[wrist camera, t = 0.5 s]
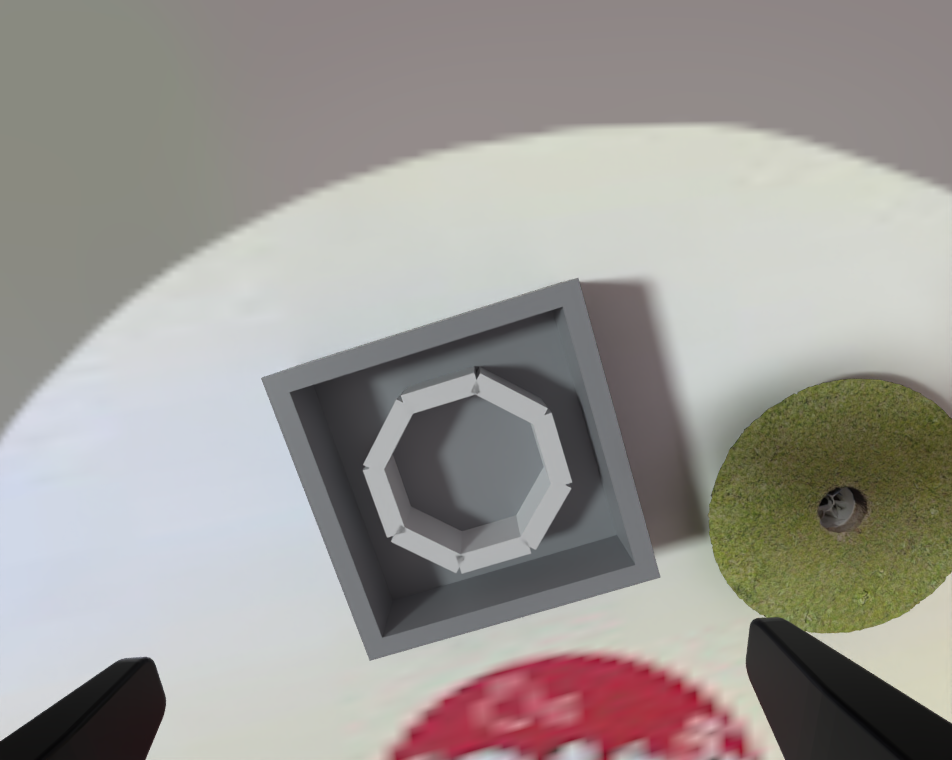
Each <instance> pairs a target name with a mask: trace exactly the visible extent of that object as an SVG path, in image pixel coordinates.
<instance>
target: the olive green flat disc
mask: <svg viewBox="0 0 952 760" xmlns="http://www.w3.org/2000/svg"><path fill="white" fill-rule="evenodd" d="M711 496H712V500H711V503H710V504H709V507H710V512H709V513H708V517H709V518H710V520H709V529H710V531H709V535H710V539H711V544H712V545H713V547H712V548H713V553H714V557H715V560H716V563H718V566H719V569H720V571H721V573H722V575H723V576H724V578H725V580H727V583H728V584H729V586H730V587H731V588H732V589H733V591H734V592H735V593H736V594H737V596H738V597H739V598H740V599H743V601H744V602H745V603H746V604H747V605H748V606H749V607H751V608H752V609H753V610H755V611H757V612H758V613H759V614H760V615H764V616H765V617H767V618H768V617H780V618H783V619H786V620H787V621H789V622H791V623H792V624H794V625H795V626H797V627H799V628H800V629H802V630H803V631H808V632H811V633H813V632H815V633H839V632H844V633H846V632H852V631H855V630H862V629H865V628H869V627H874V626H877V625H880V624H883V623H885V622H887V621H890V620H891V619H893V618H897V617H899V616H901V615H902V614H904V613H906V612H908V611H910V609H912V608H913V607H914V606H915V605H916V604H919V603H920V601H922V600H924V599H925V598H926V597H927V596H929V595H931V594H932V593H933V592H934V591H935V590H936V589H937V588H938V587H939V586H940V585H941V584H942V583H943V582H944V581H945V579H946V576H948V575H949V574H951V572H952V419H951V418H950V417H949V416H948V415H947V414H946V412H944V411H943V410H942V409H941V408H940V407H939V406H938V405H937V404H935V403H934V402H933V401H932V400H929V399H927V398H926V397H924V396H923V395H922V394H921V393H918V392H915V391H913V390H911V389H910V388H907V387H904V386H903V385H900V384H894V383H892V382H887V381H882V380H875V379H846V380H838V381H832V382H826V383H821V384H820V385H815V386H813V387H808V388H806V389H804V390H802V391H799V392H798V393H797V394H793V395H791V396H790V397H788V398H786V399H785V400H783V401H782V402H781V403H779V404H777V405H775V406H773V407H771V408H769V409H768V410H767V411H766V412H765V413H764V414H763V415H762V416H761V417H760V418H758V419H757V420H755V421H753V422H752V423H751V425H750V426H749V427H748V428H746V429H745V430H744V433H742V434H741V436H740V437H739V439H738V440H737V441H736V443H735V444H734V445H733V446H732V447H731V448H730V450H729V452H728V455H727V457H726V460H725V462H724V463H723V465H722V467H721V469H720V471H719V473H718V476H717V479H716V482H715V485H714V488H713V491H712V494H711Z"/></svg>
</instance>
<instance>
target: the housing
mask: <svg viewBox="0 0 952 760" xmlns="http://www.w3.org/2000/svg"><path fill="white" fill-rule="evenodd" d="M261 379H262V382H263V384H264V387H265V390H266V392H267V395H268V397H269V400H270V403H271V405H272V408H273V410H274V413H275V416H276V418H277V421H278V423H279V426H280V429H281V431H282V434H283V436H284V439H285V442H286V444H287V447H288V449H289V452H290V455H291V457H292V460H293V462H294V465H295V468H296V470H297V473H298V475H299V478H300V481H301V483H302V486H303V488H304V491H305V494H306V496H307V499H308V501H309V504H310V507H311V509H312V512H313V514H314V517H315V519H316V522H317V525H318V527H319V530H320V532H321V535H322V538H323V540H324V543H325V545H326V548H327V551H328V553H329V556H330V558H331V561H332V564H333V566H334V569H335V571H336V574H337V577H338V579H339V582H340V584H341V587H342V590H343V592H344V595H345V597H346V600H347V603H348V605H349V608H350V610H351V613H352V616H353V618H354V621H355V623H356V626H357V629H358V631H359V634H360V636H361V639H362V642H363V644H364V647H365V649H366V652H367V655H368V657H369V660H370V661H371V660H374V659H378V658H381V657H385V656H388V655H392V654H395V653H398V652H402V651H405V650H409V649H412V648H416V647H419V646H423V645H426V644H430V643H433V642H437V641H440V640H444V639H447V638H451V637H454V636H458V635H461V634H465V633H468V632H472V631H475V630H479V629H482V628H486V627H489V626H493V625H496V624H500V623H503V622H507V621H510V620H514V619H517V618H521V617H524V616H528V615H531V614H535V613H538V612H541V611H545V610H548V609H552V608H555V607H559V606H562V605H566V604H569V603H573V602H576V601H580V600H583V599H587V598H590V597H594V596H597V595H601V594H604V593H608V592H611V591H615V590H618V589H622V588H625V587H629V586H632V585H636V584H639V583H643V582H646V581H650V580H653V579H657V578H660V574H659V570H658V567H657V563H656V559H655V556H654V552H653V548H652V545H651V541H650V537H649V534H648V530H647V527H646V523H645V519H644V516H643V512H642V508H641V505H640V501H639V497H638V494H637V490H636V486H635V483H634V479H633V476H632V472H631V468H630V465H629V461H628V457H627V454H626V450H625V446H624V443H623V439H622V435H621V432H620V428H619V425H618V421H617V417H616V414H615V410H614V406H613V403H612V399H611V395H610V392H609V388H608V384H607V381H606V377H605V374H604V370H603V366H602V363H601V359H600V355H599V352H598V348H597V344H596V341H595V337H594V334H593V330H592V326H591V323H590V319H589V315H588V312H587V308H586V304H585V301H584V297H583V293H582V290H581V286H580V283H579V279H578V278H576V279H572V280H568V281H564V282H560V283H557V284H554V285H551V286H548V287H545V288H541V289H538V290H535V291H532V292H529V293H526V294H522V295H519V296H516V297H513V298H510V299H507V300H503V301H500V302H497V303H494V304H491V305H488V306H484V307H481V308H478V309H475V310H472V311H469V312H465V313H462V314H459V315H456V316H453V317H450V318H446V319H443V320H440V321H437V322H434V323H431V324H427V325H424V326H421V327H418V328H415V329H412V330H408V331H405V332H402V333H399V334H396V335H393V336H389V337H386V338H383V339H380V340H377V341H374V342H370V343H367V344H364V345H361V346H358V347H355V348H351V349H348V350H345V351H342V352H339V353H336V354H332V355H329V356H326V357H323V358H320V359H317V360H313V361H310V362H307V363H304V364H301V365H298V366H295V367H292V368H289V369H286V370H283V371H280V372H277V373H274V374H272V375H269V376H266V377H263V378H261Z"/></svg>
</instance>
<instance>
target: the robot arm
mask: <svg viewBox="0 0 952 760" xmlns="http://www.w3.org/2000/svg"><path fill="white" fill-rule="evenodd" d="M746 669H747V673H748V676H749V679H750V682H751V684H752V686H753V688H754V691H755V693H756V695H757V697H758V700H759V702H760V704H761V706H762V709H763V711H764V713H765V715H766V718H767V720H768V722H769V724H770V727H771V729H772V731H773V733H774V736H775V738H776V740H777V742H778V745H779V747H780V749H781V752H782V754H783V756H784V758H785V760H952V723H950V722H949V721H947V720H945V719H944V718H942V717H941V716H939V715H937V714H936V713H934V712H933V711H931V710H929V709H928V708H926V707H925V706H923V705H921V704H920V703H918V702H917V701H915V700H914V699H912V698H910V697H909V696H907V695H906V694H904V693H902V692H901V691H899V690H898V689H896V688H894V687H893V686H891V685H890V684H888V683H886V682H885V681H883V680H882V679H880V678H878V677H877V676H875V675H874V674H872V673H870V672H869V671H867V670H866V669H864V668H862V667H861V666H859V665H858V664H856V663H854V662H853V661H851V660H850V659H848V658H847V657H845V656H843V655H842V654H840V653H839V652H837V651H835V650H834V649H832V648H831V647H829V646H827V645H826V644H824V643H823V642H821V641H819V640H818V639H816V638H815V637H813V636H811V635H810V634H808V633H807V632H805V631H803V630H802V629H800V628H799V627H797V626H795V625H794V624H792V623H791V622H789V621H787V620H786V619H783V618H780V617H768V618H756V619H754V620H753V621H752V622H751V624H750V629H749V637H748V646H747V654H746ZM165 707H166V697H165V693H164V690H163V687H162V684H161V681H160V678H159V674H158V671H157V668H156V665H155V663H154V661H153V660H152V659H151V658H149V657H136V658H125V659H121V660H119V661H117V662H115V663H114V664H112V665H111V666H109V667H108V668H106V669H105V670H103V671H102V672H100V673H99V674H98V675H96V676H95V677H93V678H92V679H90V680H89V681H87V682H86V683H84V684H83V685H82V686H80V687H79V688H77V689H76V690H74V691H73V692H71V693H70V694H69V695H67V696H66V697H64V698H63V699H61V700H60V701H58V702H57V703H55V704H54V705H52V706H51V707H50V708H48V709H47V710H45V711H44V712H42V713H41V714H39V715H38V716H36V717H35V718H34V719H32V720H31V721H29V722H28V723H26V724H25V725H23V726H22V727H20V728H19V729H18V730H16V731H15V732H13V733H12V734H10V735H9V736H7V737H6V738H4V739H3V740H2V741H0V760H146V757H147V755H148V752H149V750H150V747H151V745H152V743H153V740H154V738H155V735H156V733H157V731H158V728H159V726H160V723H161V721H162V719H163V716H164V712H165Z"/></svg>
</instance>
